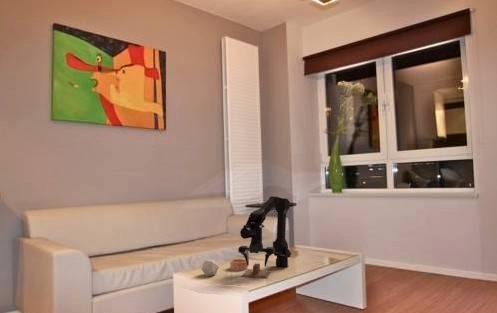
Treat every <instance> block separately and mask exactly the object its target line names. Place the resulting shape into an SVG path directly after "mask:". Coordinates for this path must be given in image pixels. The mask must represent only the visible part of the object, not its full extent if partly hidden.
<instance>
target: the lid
mask: <svg viewBox="0 0 497 313" xmlns="http://www.w3.org/2000/svg"><path fill="white" fill-rule="evenodd" d="M269 272H271V270H267V269H265V270H264V269H261V264H260V263H254V264H253V266H252V268H249V269H247V270H245V271H244V272H243V274H242V275H243V277H242V278H245V277H255V278H254V279H261V278H266V277H267V275H268V274H269Z"/></svg>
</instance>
